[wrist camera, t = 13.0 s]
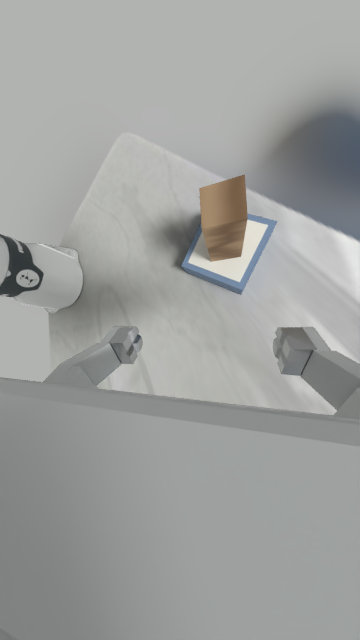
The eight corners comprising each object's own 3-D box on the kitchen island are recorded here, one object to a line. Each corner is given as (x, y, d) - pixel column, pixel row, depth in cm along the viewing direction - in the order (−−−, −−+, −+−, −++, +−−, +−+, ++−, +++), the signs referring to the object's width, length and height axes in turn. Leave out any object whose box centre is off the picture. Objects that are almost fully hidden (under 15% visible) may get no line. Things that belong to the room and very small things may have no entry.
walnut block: (211, 261, 28) (201, 229, 19) (209, 234, 28) (199, 188, 19) (241, 256, 27) (247, 218, 17) (239, 228, 27) (244, 174, 17)
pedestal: (186, 272, 34) (180, 265, 30) (211, 218, 33) (209, 203, 29) (240, 294, 30) (242, 289, 26) (271, 234, 29) (277, 220, 25)
